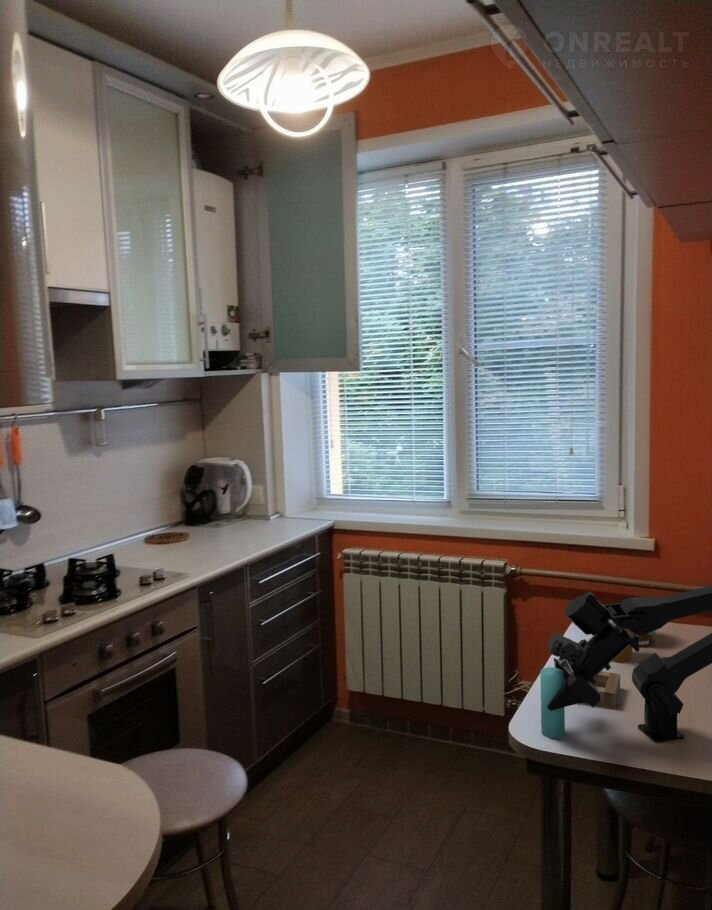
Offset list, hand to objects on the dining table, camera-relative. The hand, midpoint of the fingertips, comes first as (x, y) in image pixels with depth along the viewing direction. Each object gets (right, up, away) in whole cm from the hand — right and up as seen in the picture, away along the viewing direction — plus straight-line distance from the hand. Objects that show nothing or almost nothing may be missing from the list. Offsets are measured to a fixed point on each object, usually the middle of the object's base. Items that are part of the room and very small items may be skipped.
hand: (545, 702), depth 148 cm
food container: (+39, 0, +47) cm, 61 cm away
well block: (+15, -4, +17) cm, 23 cm away
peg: (+2, -6, +1) cm, 7 cm away
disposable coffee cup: (+28, -1, +37) cm, 46 cm away
